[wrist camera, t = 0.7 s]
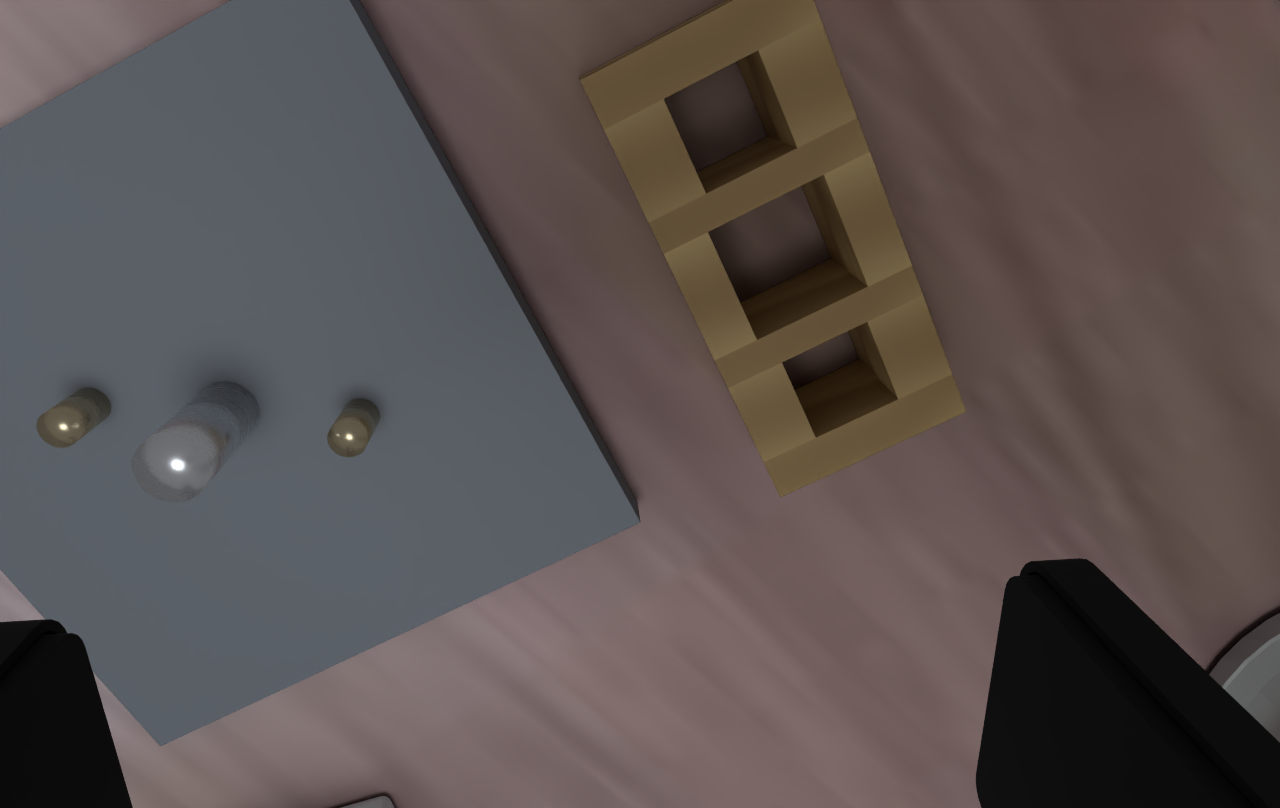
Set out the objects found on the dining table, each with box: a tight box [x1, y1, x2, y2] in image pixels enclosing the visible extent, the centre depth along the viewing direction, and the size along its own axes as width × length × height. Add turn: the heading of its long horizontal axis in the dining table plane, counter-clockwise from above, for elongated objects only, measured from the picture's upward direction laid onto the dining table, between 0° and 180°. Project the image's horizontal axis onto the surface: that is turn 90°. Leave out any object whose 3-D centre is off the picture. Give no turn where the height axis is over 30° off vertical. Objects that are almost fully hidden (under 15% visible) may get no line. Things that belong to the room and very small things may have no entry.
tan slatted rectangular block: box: [579, 0, 966, 497], centre depth 28 cm, size 14×6×4 cm, turn 26°
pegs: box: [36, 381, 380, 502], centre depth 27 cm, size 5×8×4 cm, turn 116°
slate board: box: [0, 0, 640, 746], centre depth 30 cm, size 20×20×2 cm
